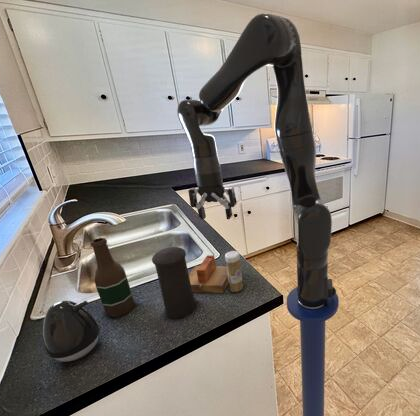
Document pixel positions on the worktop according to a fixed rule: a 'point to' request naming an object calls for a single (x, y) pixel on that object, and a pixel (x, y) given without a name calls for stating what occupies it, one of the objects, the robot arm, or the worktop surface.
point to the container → (174, 281)
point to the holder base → (210, 281)
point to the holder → (206, 269)
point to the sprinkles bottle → (234, 271)
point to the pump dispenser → (69, 331)
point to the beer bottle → (111, 281)
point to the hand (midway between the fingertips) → (216, 218)
